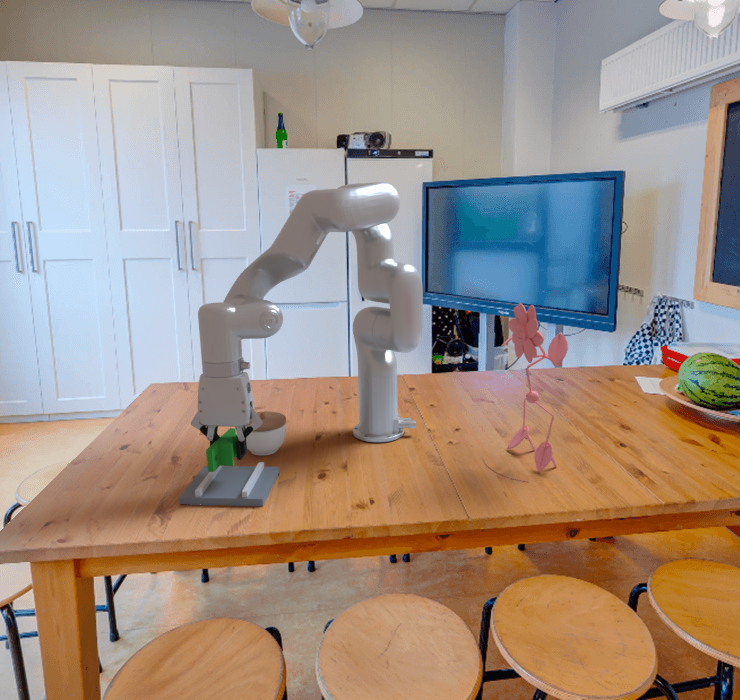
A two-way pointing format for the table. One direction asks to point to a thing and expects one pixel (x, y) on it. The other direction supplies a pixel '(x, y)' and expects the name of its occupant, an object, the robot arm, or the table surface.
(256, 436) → the lidded jar
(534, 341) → the figurine
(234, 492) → the rail board
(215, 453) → the pipe clamp
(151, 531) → the table surface
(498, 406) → the table surface
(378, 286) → the robot arm
